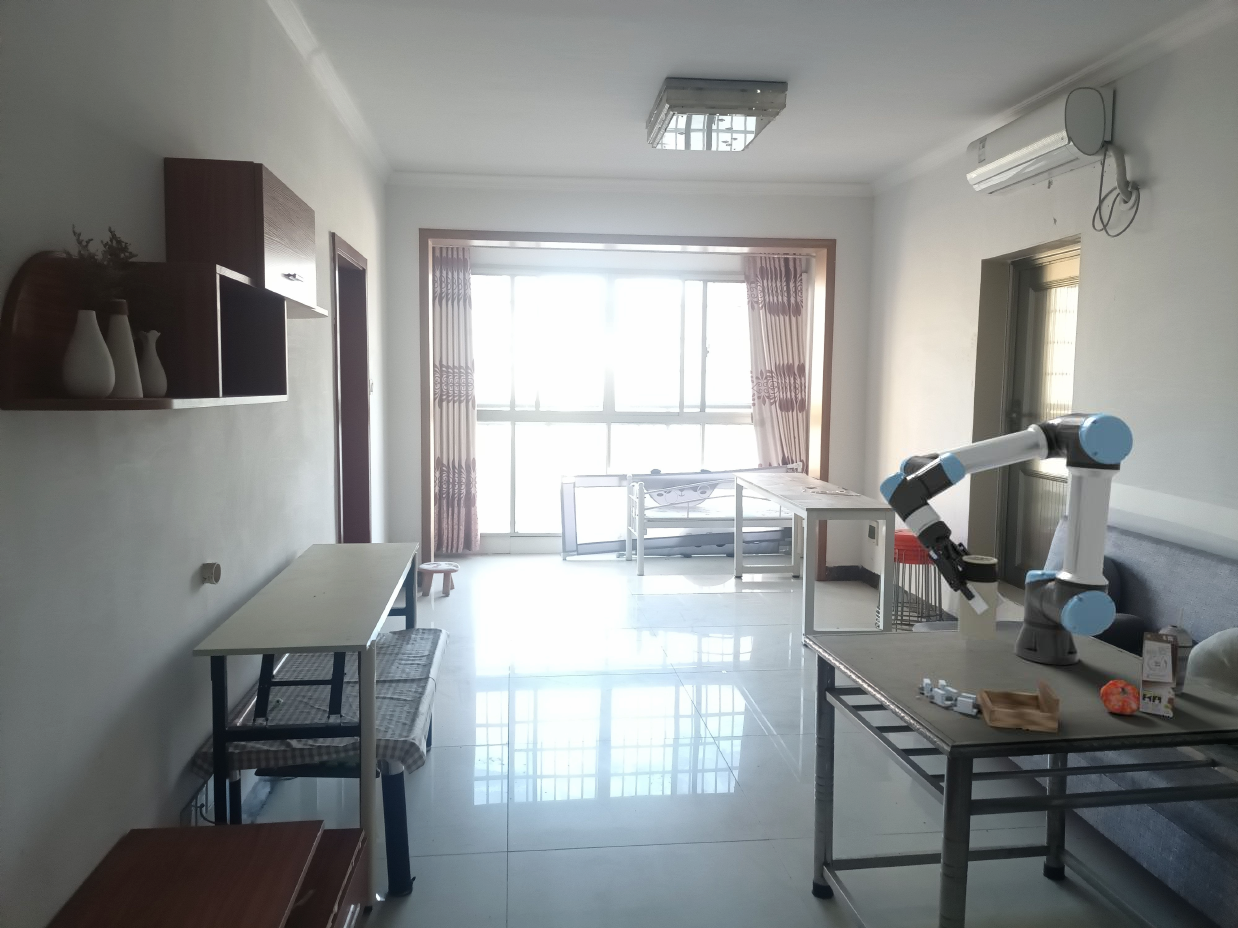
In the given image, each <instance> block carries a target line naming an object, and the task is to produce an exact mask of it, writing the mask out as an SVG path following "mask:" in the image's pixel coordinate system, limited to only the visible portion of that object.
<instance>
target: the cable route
mask: <svg viewBox="0 0 1238 928" xmlns="http://www.w3.org/2000/svg"><path fill="white" fill-rule="evenodd" d="M931 685H932V684H931V681H930V678H923V685H919V686H917V690H918V691H920V692H923V694H924V696H925V697H927V699H929V700H930V701H931V702H933V703H935V704H936V705H938V706H941V707H943V708H945V707H952V708H953V711H954V712H959V713H963V714H968V715H973V716H976V714H977V713H978V712H979V710H980V704H977V703H978V695H974V694H970V693H964V692H962V693H961V694H960V696H959V690H957V689H955V688H952V687H950V686H947V683H946V681H945V680H943V679H938V686H931ZM980 711H981V710H980Z"/></svg>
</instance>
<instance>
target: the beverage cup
mask: <svg viewBox="0 0 1238 928" xmlns="http://www.w3.org/2000/svg"><path fill="white" fill-rule="evenodd" d="M1184 611H1185V608H1183V607H1181V609H1180V613H1179V618H1178V623H1177V625H1171V624H1170V625H1167V626H1165V627H1163V628H1161V630H1160V631H1159V632H1158V633H1161V634H1169V635H1176V636H1177V640H1178V643H1179V647H1178V659H1177V672H1176V686H1175V695H1182V694H1183V690H1184V687H1185V681H1186V676H1187V669H1188V664H1189V659H1190V655H1191V652H1192V650H1193V649H1192V648H1193V647H1194V644H1193V639H1192V637H1191V634H1190V633H1189V632H1188V631H1187V630H1186V629H1185V628H1183V627H1182V626H1181V625H1182V621H1183V615H1184ZM1181 693H1182V694H1181Z"/></svg>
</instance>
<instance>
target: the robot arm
mask: <svg viewBox="0 0 1238 928" xmlns="http://www.w3.org/2000/svg"><path fill="white" fill-rule="evenodd" d="M1133 444H1134V437H1133V432H1132V431H1131V429H1130V426H1129V425H1128V424H1127V423H1126V422H1125V421H1124V420H1123V419H1121V418H1119V417H1117V416H1115V415H1111V414H1107V413H1102V412H1101V413H1079V412H1075V413H1069V414H1063V415H1060V416H1058V417H1057V416H1056V417H1054V418H1051V419H1048V420H1044V421H1042V422H1038V423H1033V424H1030V425H1029V426H1028V428H1027V429H1024V430H1022V431H1017V432H1014V433H1009V434H1005V435H1002V436H996V437H992V438H990V439H985V440H982V441H977V442H972V443H969V444H965V445H961V446H956V447H953V448H948V449H944V450H941V451H937V452H933V453H928V454H925V455H912V456H908V457H906V458H904V459H903V460H902V462H901V463H900V466H899V471H897V472H895V473H892V474H891V475H889V476H888V477H886V478H885V479H884V480H883V482H882V483H880V486H879V492H880V493H881V495H882V496H883V498H884V500H886V502H887V504H888V505H889V506H890V507H891V509H892V510H893V511H894V512H895V513H896V514H897V516H898V517H899V518H900V520H901V521H902V522H903V523H904V525H905V526H906V528H907V531H908V532H911V534H913V536H914V537H916V540H917V541H918V543H919V544H920V545H921V546H922V548H923V549H924V550H926V551H929V552H928V553H927V557H928V558H929V559H930V560H931V561H932V563H933V564H934V565H935V566H936V568H937V570H938V571H939V573H940V575H941V576H942V577H943V579H944V580H945V582H946V583H947V584H948V586H949V588H950V589H951V590H952V591H954V592H955V593H957V592H959V593H960V592H961V593H962V594H963V596H964V597H965V598H966V599H967V601H968V602H969V603H970V604H971V606H972V607H973V608H974V609H975V611H976V612H977V613H978V615H979V614H981V613H982V612H983V611H985V610H986V609H987V608H989V607H988V606H987V604H986V603H985V602H984V601H983V599H982V598H981V597H980V596H979V594H978V593H977V592H976V591H975V589H974V588H973V587H972V586H971V584H970V583H969V584H967V583H966V581H965V579H964V577H963V575H962V573H961V569H962V568H963V566H964V561H963V559H962V557H964V556H973V554H972V553H971V552H970V551H969V550H968V549H967V547H966V546H965V545H964V544H963V542H958V543H957V544H956V542H955V541H953V540H952V539H951V536H952V533H953V532H952V529H950V527H949V525H947V524H946V522H945V520H941V519H942V518H941V516H940V515H939V513H938V512H937V511H936V510H935V509H934V507H933V506H932V505H931V504H930V503H929V501H930V500H932V499H933V498H936V497H937V496H939V495H940V494H941V493H943V492H945V491H947V490H948V489H950V488H951V487H954V486H956V485H957V484H958V483H959V482H961V481H963V479H965V477H966V476H967V475H971V474H975V473H978V472H984V471H986V470H991V469H995V468H999V467H1005V466H1008V465H1012V464H1015V463H1019V462H1024V461H1028V460H1032V459H1036V460H1039V461H1044V460H1045V461H1046V460H1050V459H1061V458H1062V459H1066V461H1065V469H1067V470H1068V471H1069V472H1070V474H1071V481H1070V493H1069V500H1068V501H1069V502H1068V503H1069V504H1068V512H1067V513H1068V514H1067V524H1066V531H1065V533H1066V534H1065V545H1064V555H1063V565H1062V569H1060V570H1047V569H1045V570H1044V569H1043V570H1041V569H1040V570H1039V569H1038V570H1036V569H1035V570H1029V571H1028V572H1027V574H1026V578H1025V582H1024V586H1025V587H1024V602H1023V603H1024V607H1023V623H1022V626H1021V629H1020V632H1019V634H1018V636H1017V638H1016V641H1015V644H1014V654H1015V655H1017V656H1018V657H1020V658H1022V659H1025V660H1027V661H1028V660H1029V661H1030V662H1031V661H1032V662H1036V663H1041V664H1048V665H1059V666H1060V665H1061V666H1062V665H1063V666H1064V665H1065V666H1067V665H1074V664H1076V663H1078V662H1079V650H1078V649H1079V648H1078V646H1077V642H1076V638H1075V635H1074V634H1076V635H1080V636H1083V637H1093V636H1097V635H1100V634H1102V633H1103V632H1105V630H1107V629H1109V628H1110V627H1111V625H1112V624H1113V622H1114V620H1115V617H1116V611H1117V610H1116V605H1115V602H1114V600H1112V598H1111V597H1110V595H1108V592H1109V591H1108V590H1109V580H1107V578H1106V577H1105V576H1104V574H1103V569H1104V558H1105V549H1106V539H1107V530H1108V529H1107V528H1108V520H1109V518H1108V517H1109V509H1110V502H1111V501H1110V500H1111V488H1112V479H1113V477H1114V476H1115V475H1117V474H1118V473H1119V472H1120V471H1121V463H1122V461H1124V460H1125V459H1126V458H1127V456H1129V454H1130V453H1131V451H1132V449H1133V446H1134V445H1133ZM966 584H967V585H966ZM1005 602H1006V599H1004V598H1003V596H1002V595H1001V594H1000V593H999V591H998V590H997V608H996V609H998V608H1000V607H1001V606H1002V605H1003V604H1005Z"/></svg>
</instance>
